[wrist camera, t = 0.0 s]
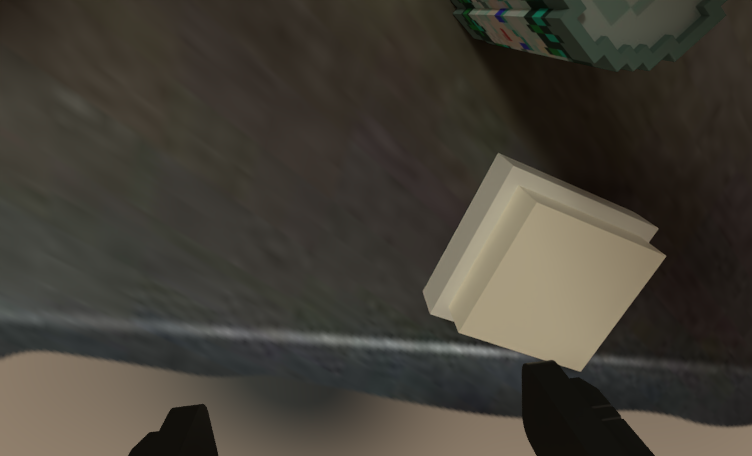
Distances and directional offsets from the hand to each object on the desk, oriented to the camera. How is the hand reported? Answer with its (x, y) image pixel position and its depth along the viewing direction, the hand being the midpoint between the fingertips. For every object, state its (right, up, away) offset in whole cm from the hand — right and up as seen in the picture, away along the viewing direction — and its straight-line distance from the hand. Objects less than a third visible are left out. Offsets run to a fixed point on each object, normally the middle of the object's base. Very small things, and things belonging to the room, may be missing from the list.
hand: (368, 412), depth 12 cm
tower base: (+12, +3, +25) cm, 27 cm away
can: (+8, +19, +17) cm, 27 cm away
